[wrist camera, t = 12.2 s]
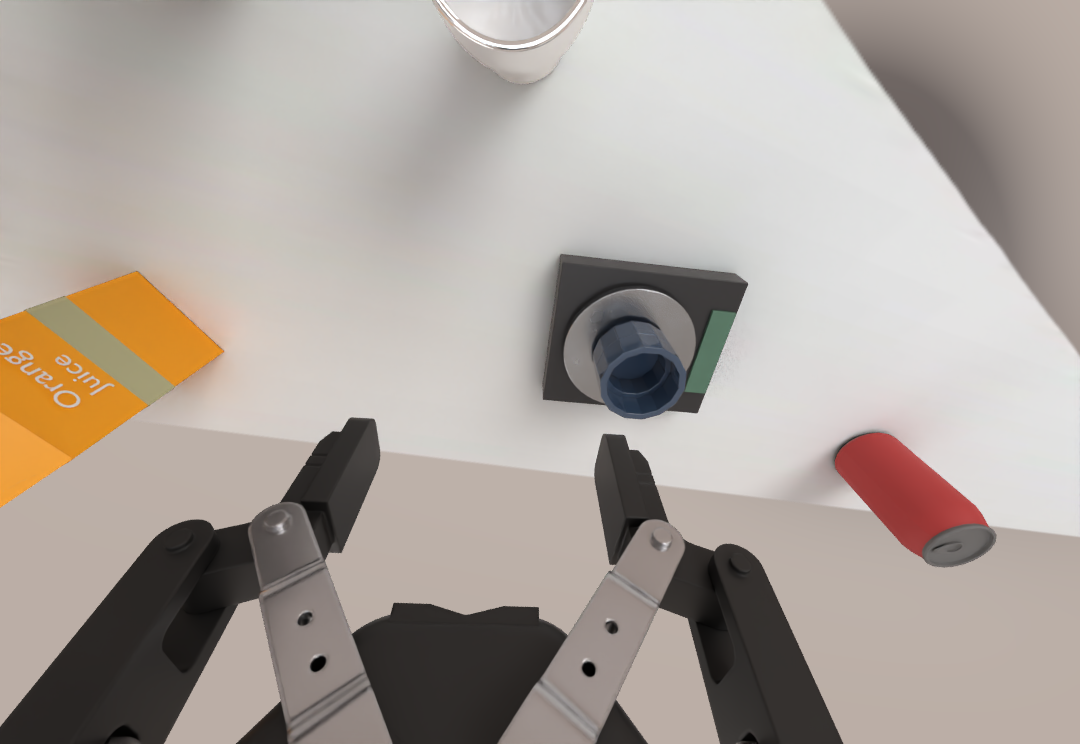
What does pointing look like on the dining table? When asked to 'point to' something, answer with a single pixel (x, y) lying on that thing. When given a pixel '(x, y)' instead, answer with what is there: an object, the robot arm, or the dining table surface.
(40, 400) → the orange juice
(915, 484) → the beer can
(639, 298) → the platter
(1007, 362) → the dining table surface
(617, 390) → the cup
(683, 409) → the scale
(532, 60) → the beer glass
